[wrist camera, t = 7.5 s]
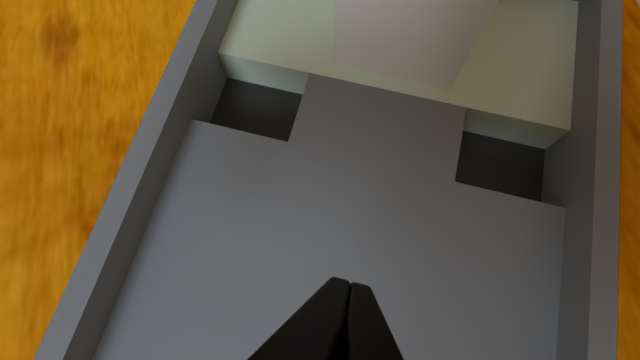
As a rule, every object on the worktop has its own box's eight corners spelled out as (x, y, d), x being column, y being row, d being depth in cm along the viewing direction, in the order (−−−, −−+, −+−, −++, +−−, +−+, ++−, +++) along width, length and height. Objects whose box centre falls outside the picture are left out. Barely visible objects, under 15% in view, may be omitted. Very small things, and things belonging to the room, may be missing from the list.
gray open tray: (534, 546, 16) (624, 642, 11) (79, 402, 18) (-10, 433, 13) (571, 22, 24) (631, -49, 20) (258, -39, 26) (244, -118, 21)
